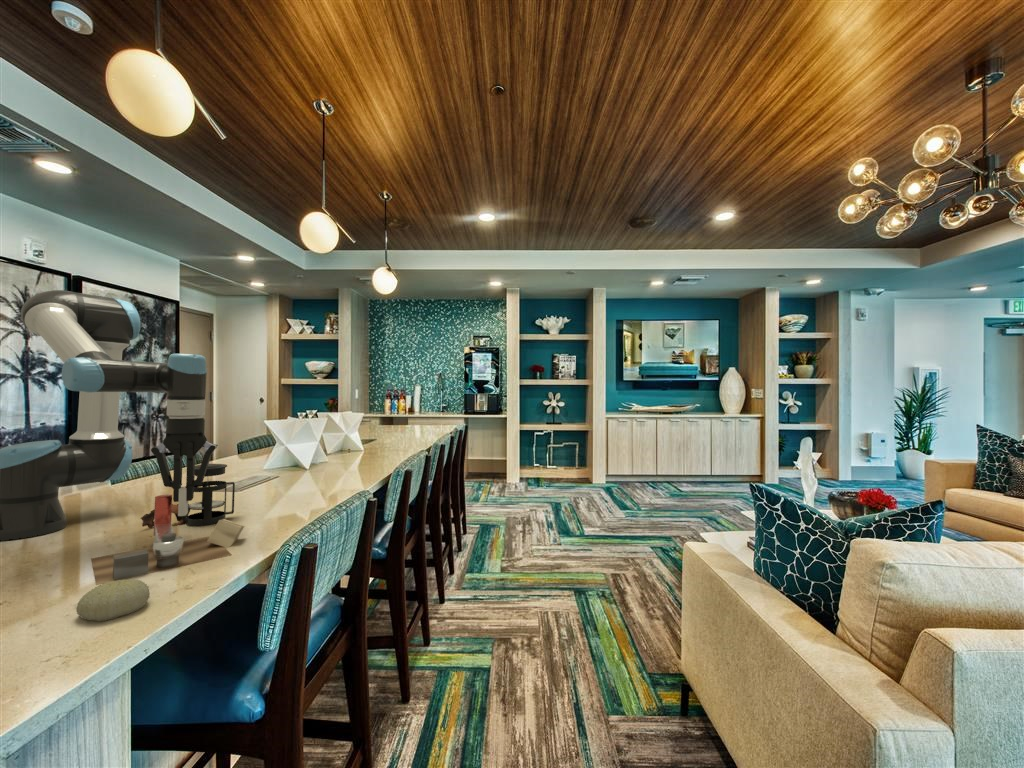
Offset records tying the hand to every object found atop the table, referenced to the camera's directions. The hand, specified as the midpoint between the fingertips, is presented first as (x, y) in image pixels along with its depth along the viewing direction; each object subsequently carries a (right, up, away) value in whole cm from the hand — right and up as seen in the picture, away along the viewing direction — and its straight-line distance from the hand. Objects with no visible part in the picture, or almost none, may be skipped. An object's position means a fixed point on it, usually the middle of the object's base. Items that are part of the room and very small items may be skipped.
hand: (183, 514), depth 105 cm
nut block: (+10, -7, -2) cm, 12 cm away
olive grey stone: (+11, -8, -31) cm, 34 cm away
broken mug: (-15, -8, +14) cm, 22 cm away
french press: (-5, -8, +16) cm, 19 cm away
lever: (+2, -4, -8) cm, 10 cm away
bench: (+3, -8, -10) cm, 13 cm away
